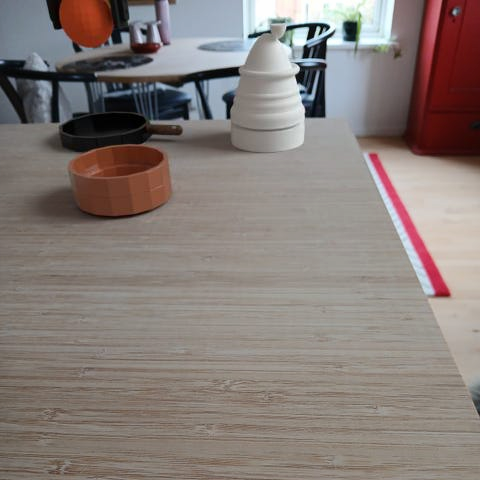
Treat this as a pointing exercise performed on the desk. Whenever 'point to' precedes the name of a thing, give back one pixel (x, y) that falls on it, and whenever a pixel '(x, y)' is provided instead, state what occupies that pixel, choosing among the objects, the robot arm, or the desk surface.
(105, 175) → the bowl
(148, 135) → the pan
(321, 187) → the desk surface
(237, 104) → the honey pot
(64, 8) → the clementine
